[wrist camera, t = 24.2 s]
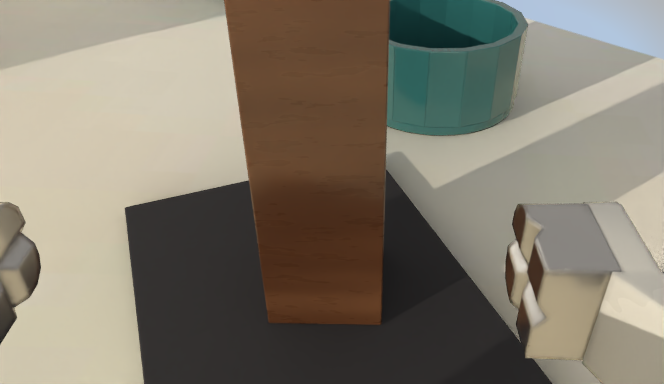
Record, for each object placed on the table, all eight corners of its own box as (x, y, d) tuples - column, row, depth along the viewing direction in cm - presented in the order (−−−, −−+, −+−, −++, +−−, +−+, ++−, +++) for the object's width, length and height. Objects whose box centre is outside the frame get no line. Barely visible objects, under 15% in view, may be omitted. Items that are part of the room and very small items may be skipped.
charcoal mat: (127, 216, 31) (124, 207, 31) (373, 161, 35) (374, 152, 34) (176, 648, 16) (172, 640, 16) (609, 472, 19) (614, 462, 19)
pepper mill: (381, 325, 24) (393, -118, 15) (268, 324, 24) (207, -113, 15) (380, 249, 28) (388, -144, 18) (281, 248, 28) (239, -139, 19)
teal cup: (336, 79, 44) (334, 5, 41) (463, 55, 47) (471, -16, 43) (395, 149, 36) (398, 64, 33) (546, 116, 38) (562, 34, 35)
